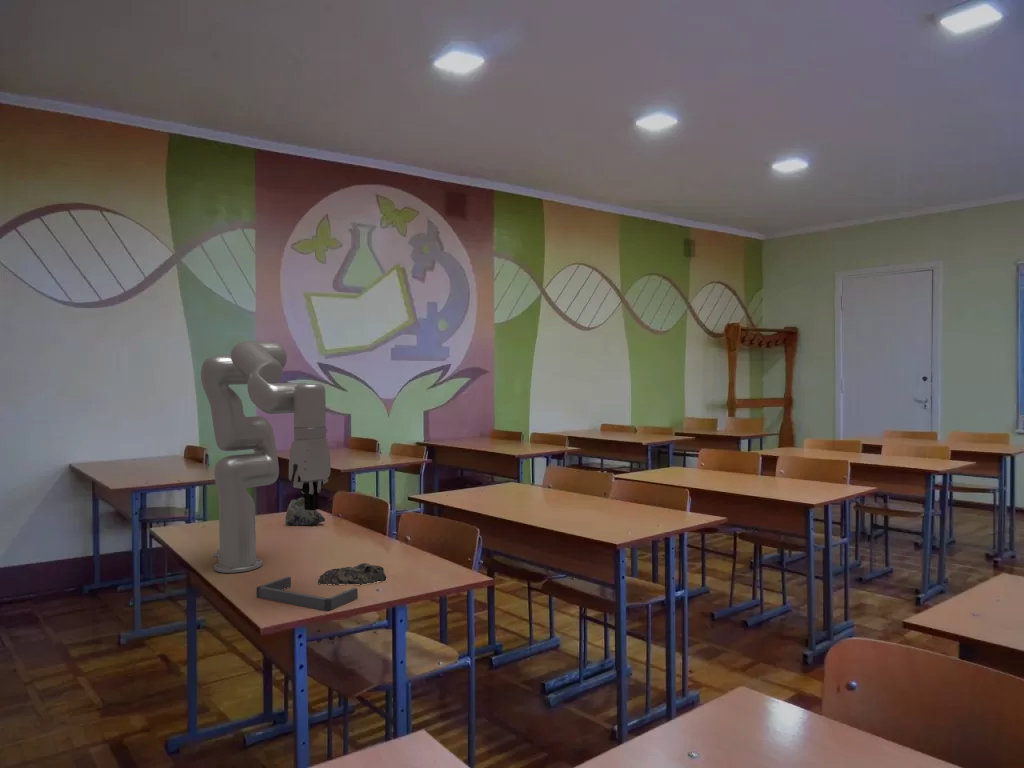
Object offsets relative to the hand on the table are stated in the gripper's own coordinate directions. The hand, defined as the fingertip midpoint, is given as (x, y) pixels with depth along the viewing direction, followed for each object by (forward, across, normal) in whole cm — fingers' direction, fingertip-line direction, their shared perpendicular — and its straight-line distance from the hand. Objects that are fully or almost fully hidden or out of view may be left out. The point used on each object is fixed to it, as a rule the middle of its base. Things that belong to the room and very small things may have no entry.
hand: (311, 509), depth 177 cm
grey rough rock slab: (+22, -16, 0) cm, 27 cm away
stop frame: (+21, +2, 0) cm, 21 cm away
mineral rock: (+21, -61, -63) cm, 90 cm away
